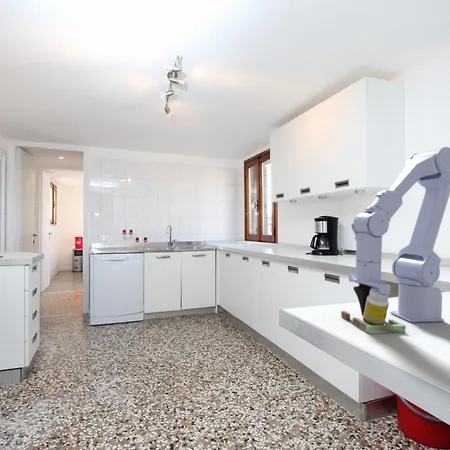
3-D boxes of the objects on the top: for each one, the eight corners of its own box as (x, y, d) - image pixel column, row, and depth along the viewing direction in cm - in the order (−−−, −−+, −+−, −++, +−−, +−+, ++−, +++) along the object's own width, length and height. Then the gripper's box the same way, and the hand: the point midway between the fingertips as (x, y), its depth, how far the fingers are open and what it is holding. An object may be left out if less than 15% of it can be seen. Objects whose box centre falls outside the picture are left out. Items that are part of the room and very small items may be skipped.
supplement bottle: (386, 330, 73) (393, 298, 70) (364, 326, 74) (370, 295, 71) (381, 318, 78) (388, 288, 75) (360, 315, 79) (366, 285, 76)
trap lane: (373, 316, 83) (373, 310, 83) (405, 332, 71) (405, 325, 71) (341, 316, 82) (341, 311, 82) (368, 333, 70) (368, 326, 70)
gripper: (338, 257, 85) (337, 307, 85) (370, 265, 70) (368, 326, 71) (363, 257, 86) (361, 307, 86) (399, 265, 71) (397, 325, 71)
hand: (366, 315), depth 78 cm, fingers closed, pressing on supplement bottle
